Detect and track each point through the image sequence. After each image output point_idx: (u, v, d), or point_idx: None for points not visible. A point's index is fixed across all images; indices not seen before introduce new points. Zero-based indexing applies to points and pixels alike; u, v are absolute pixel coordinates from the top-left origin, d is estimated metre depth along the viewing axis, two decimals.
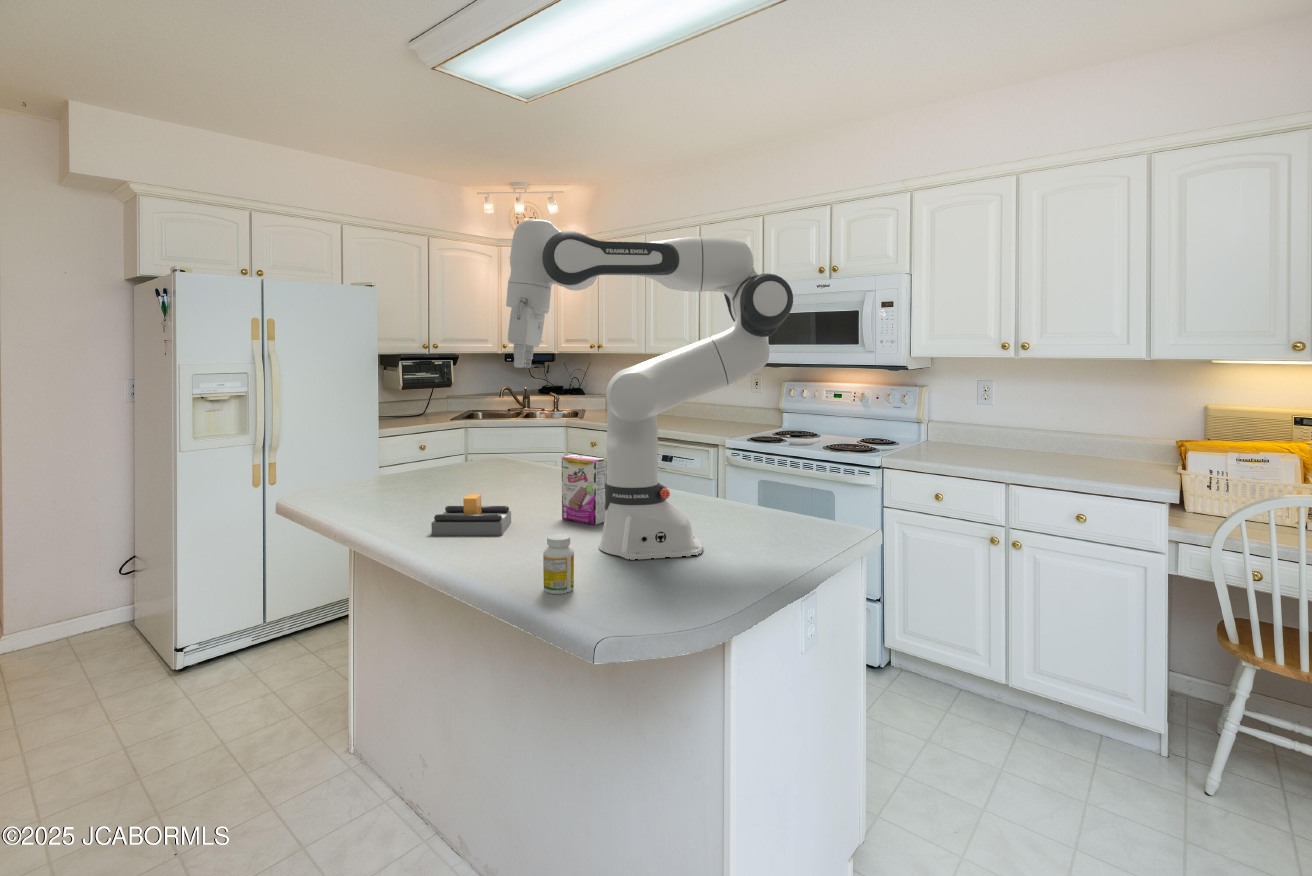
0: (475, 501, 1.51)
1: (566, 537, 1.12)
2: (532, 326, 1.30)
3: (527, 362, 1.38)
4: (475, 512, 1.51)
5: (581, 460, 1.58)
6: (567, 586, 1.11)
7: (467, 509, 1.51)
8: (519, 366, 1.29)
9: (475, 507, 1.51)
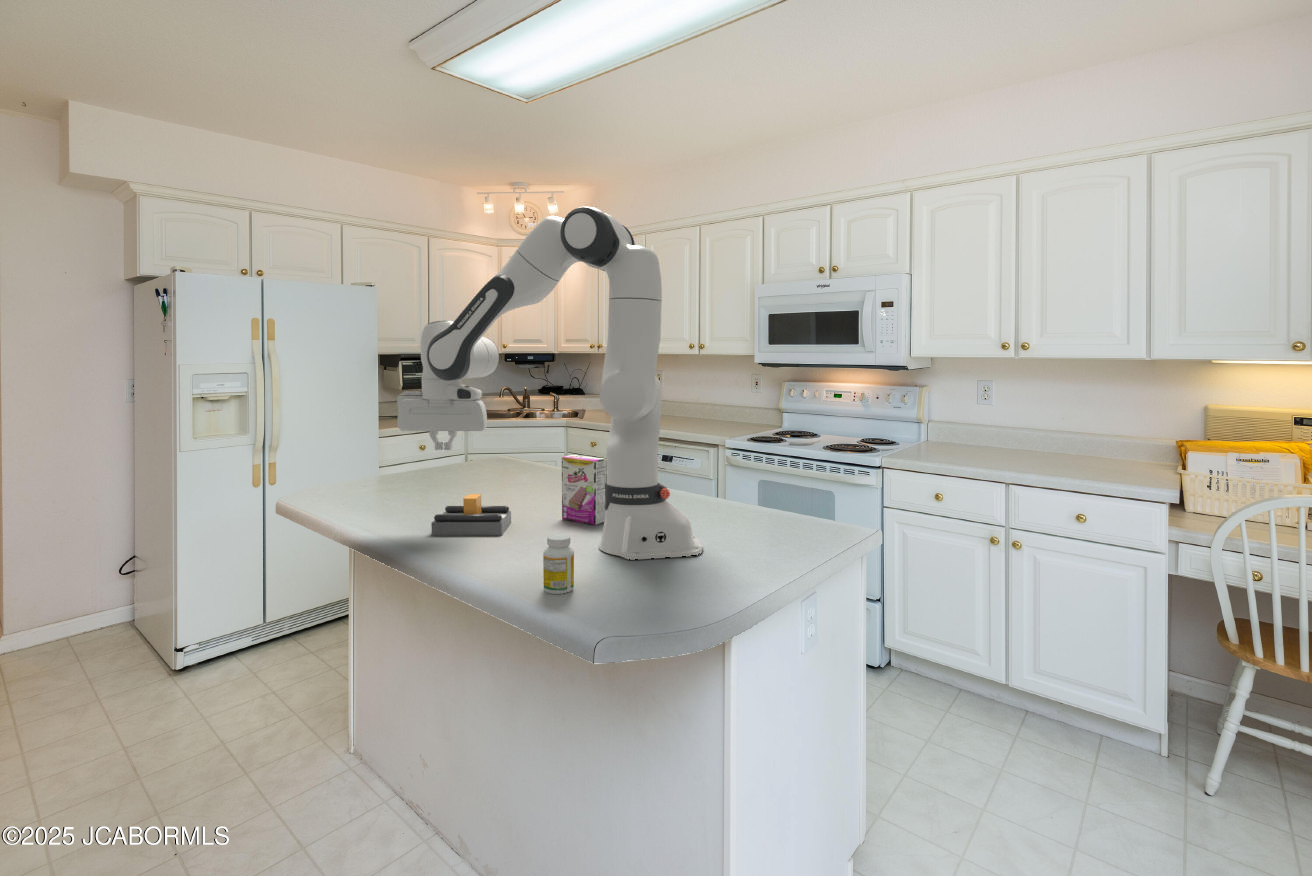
0: (475, 501, 1.51)
1: (566, 537, 1.12)
2: (427, 414, 1.48)
3: None
4: (475, 512, 1.51)
5: (581, 460, 1.58)
6: (567, 586, 1.11)
7: (467, 509, 1.51)
8: None
9: (475, 507, 1.51)
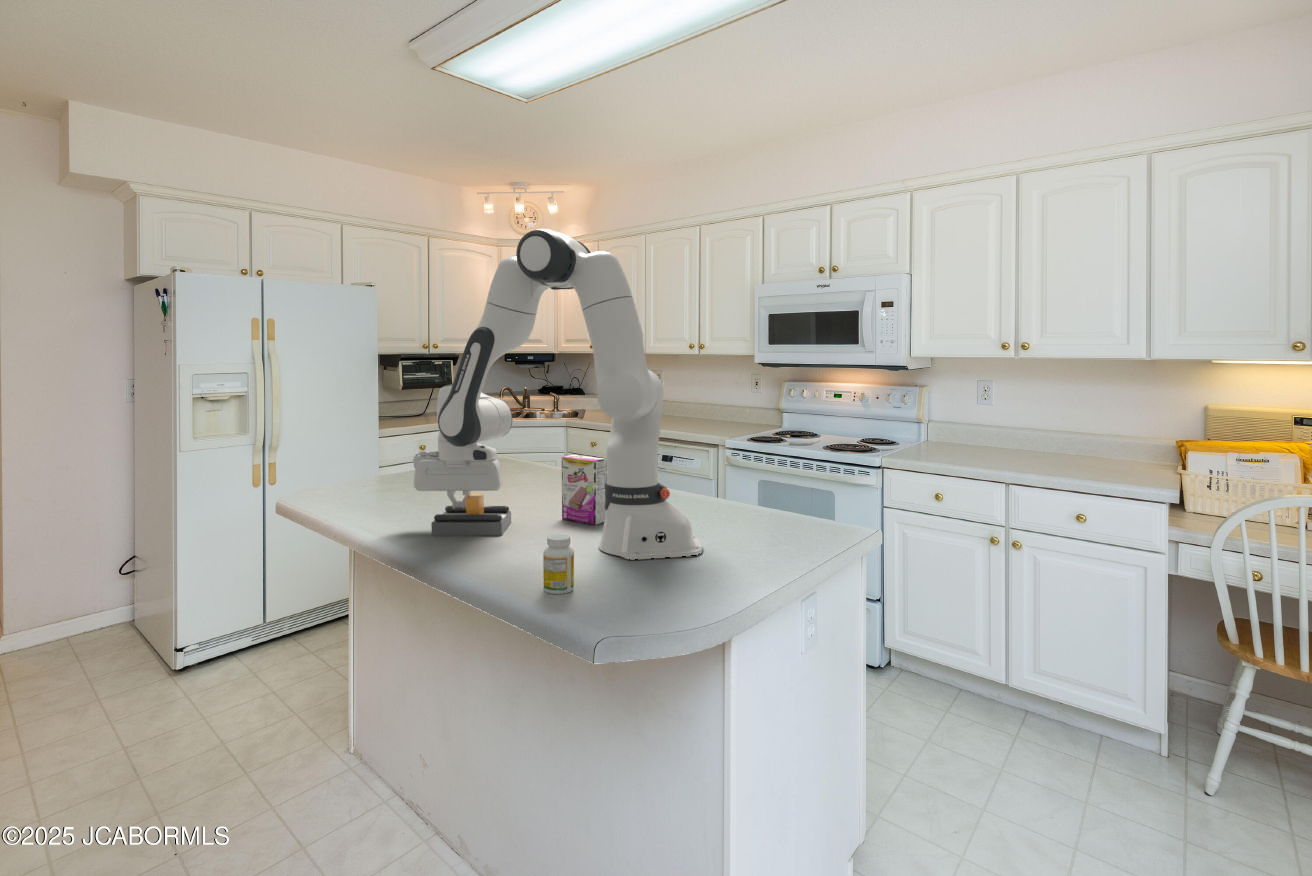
0: (478, 501, 1.51)
1: (566, 537, 1.12)
2: (443, 474, 1.50)
3: None
4: (478, 512, 1.51)
5: (581, 460, 1.58)
6: (567, 586, 1.11)
7: (469, 509, 1.51)
8: None
9: (478, 507, 1.51)
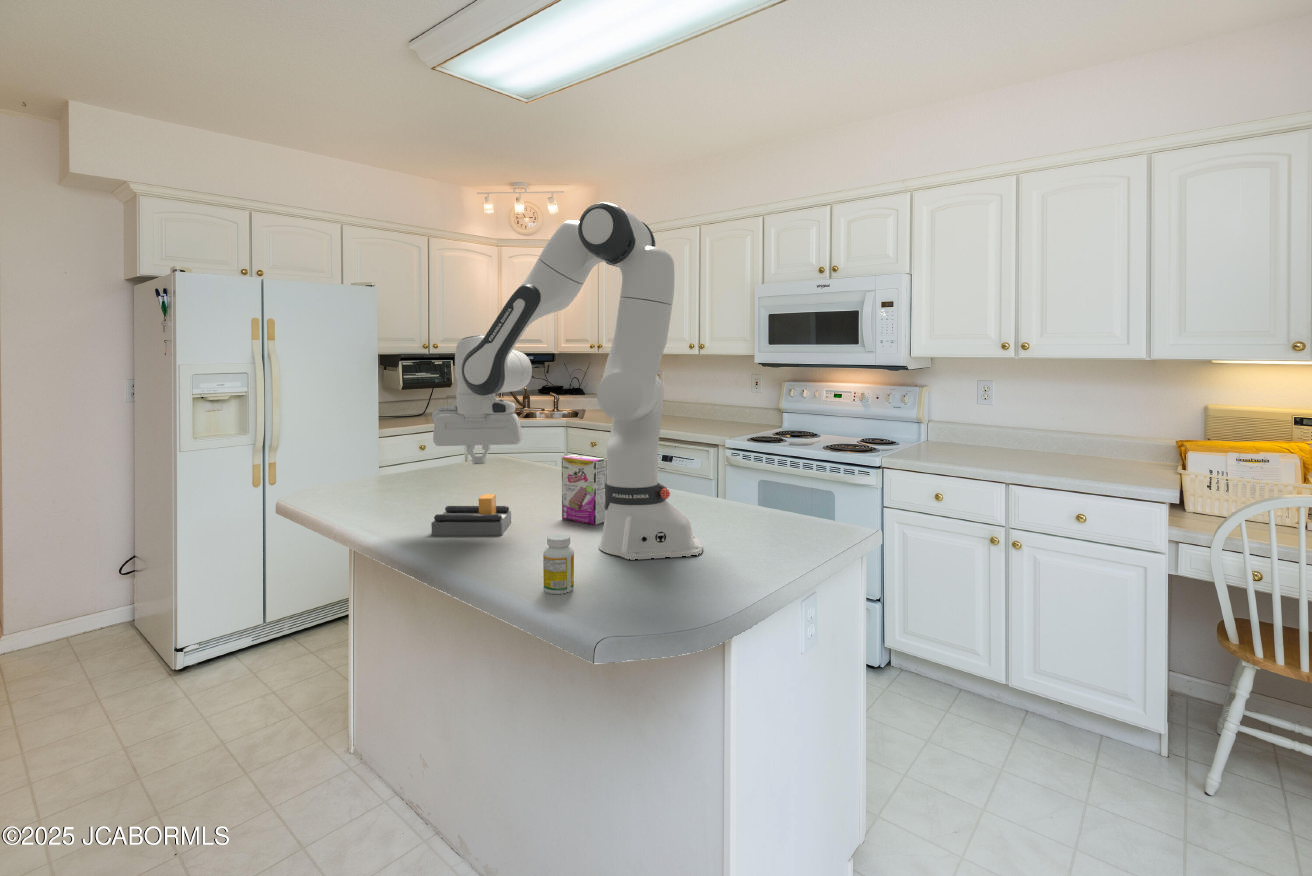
0: (490, 501, 1.51)
1: (566, 537, 1.12)
2: (462, 429, 1.49)
3: None
4: (490, 512, 1.51)
5: (581, 460, 1.58)
6: (567, 586, 1.11)
7: (482, 509, 1.51)
8: None
9: (490, 507, 1.51)
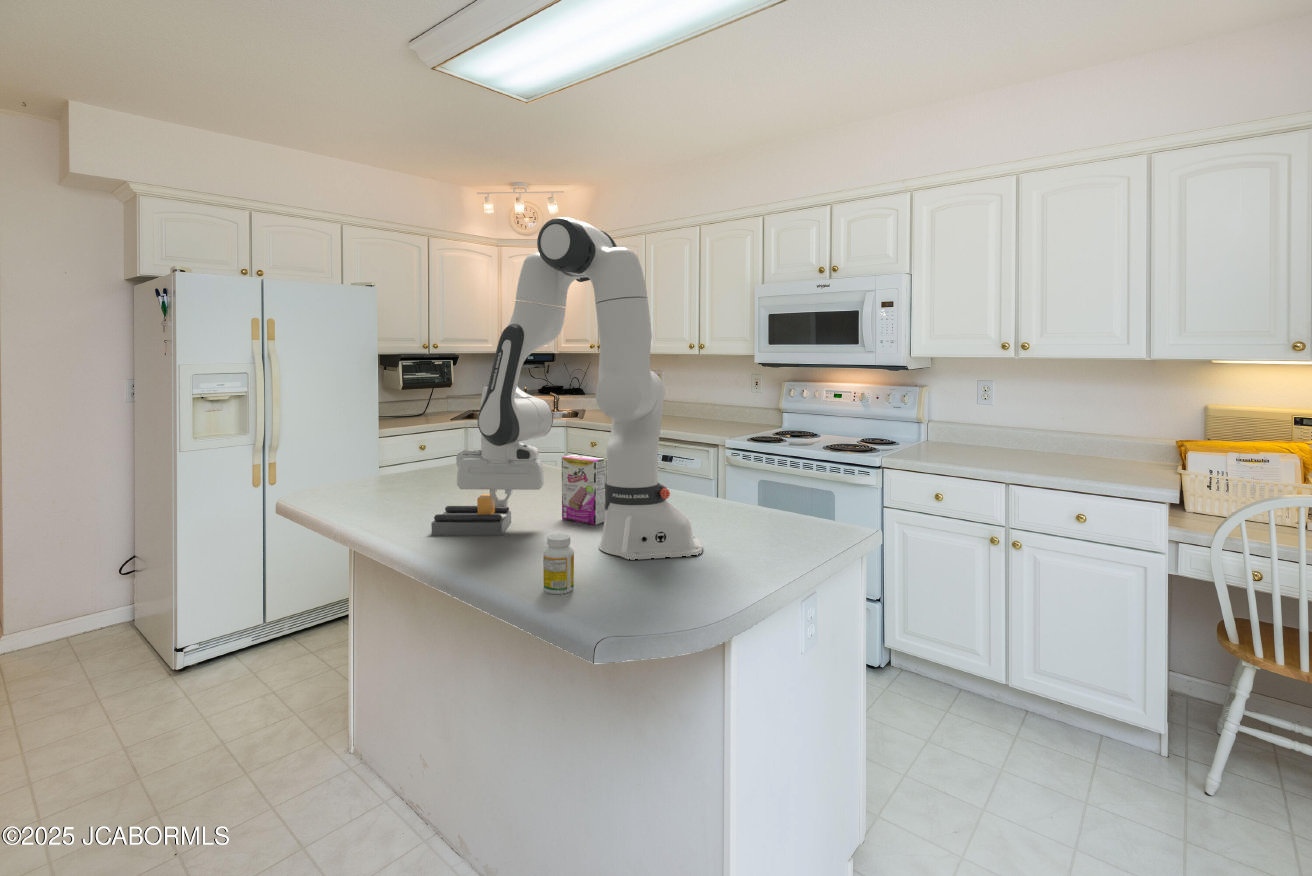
0: (489, 501, 1.51)
1: (566, 537, 1.12)
2: (486, 473, 1.51)
3: None
4: (489, 512, 1.51)
5: (581, 460, 1.58)
6: (567, 586, 1.11)
7: (481, 509, 1.51)
8: (495, 506, 1.53)
9: (489, 507, 1.51)
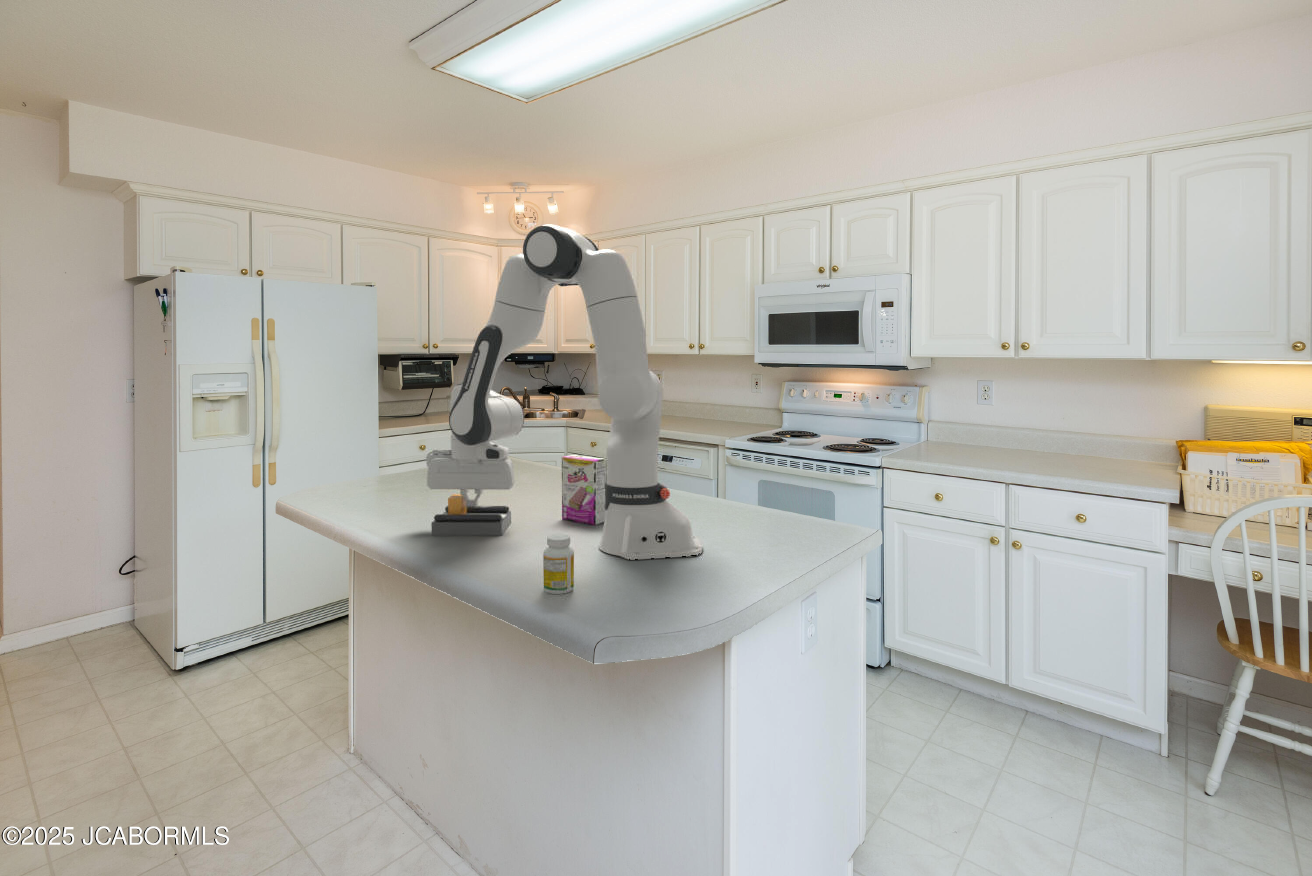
0: (460, 501, 1.50)
1: (566, 537, 1.12)
2: (456, 473, 1.50)
3: None
4: (460, 512, 1.51)
5: (581, 460, 1.58)
6: (567, 586, 1.11)
7: (451, 509, 1.51)
8: None
9: (460, 507, 1.51)
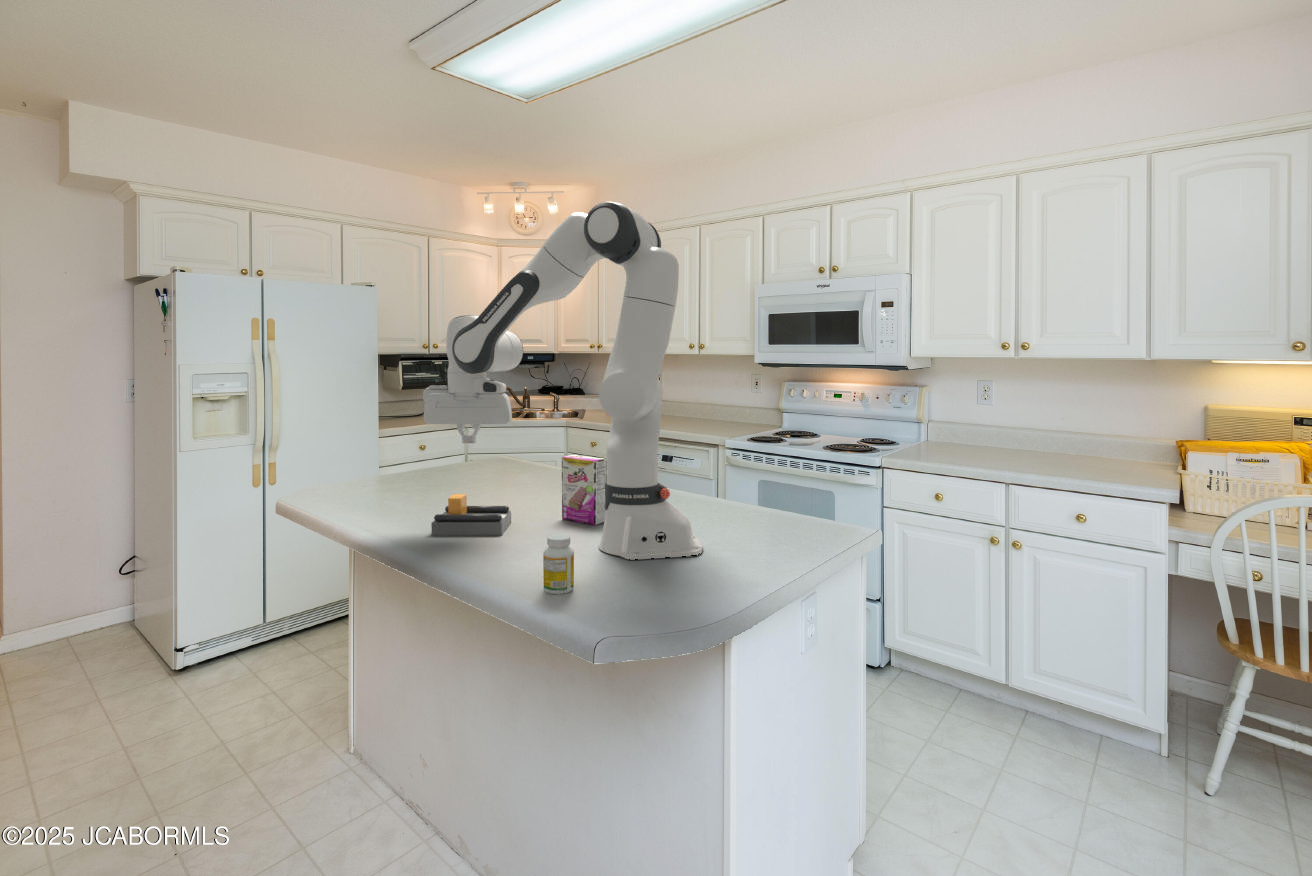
0: (460, 501, 1.50)
1: (566, 537, 1.12)
2: (453, 407, 1.50)
3: None
4: (460, 512, 1.51)
5: (581, 460, 1.58)
6: (567, 586, 1.11)
7: (452, 509, 1.51)
8: None
9: (460, 507, 1.51)
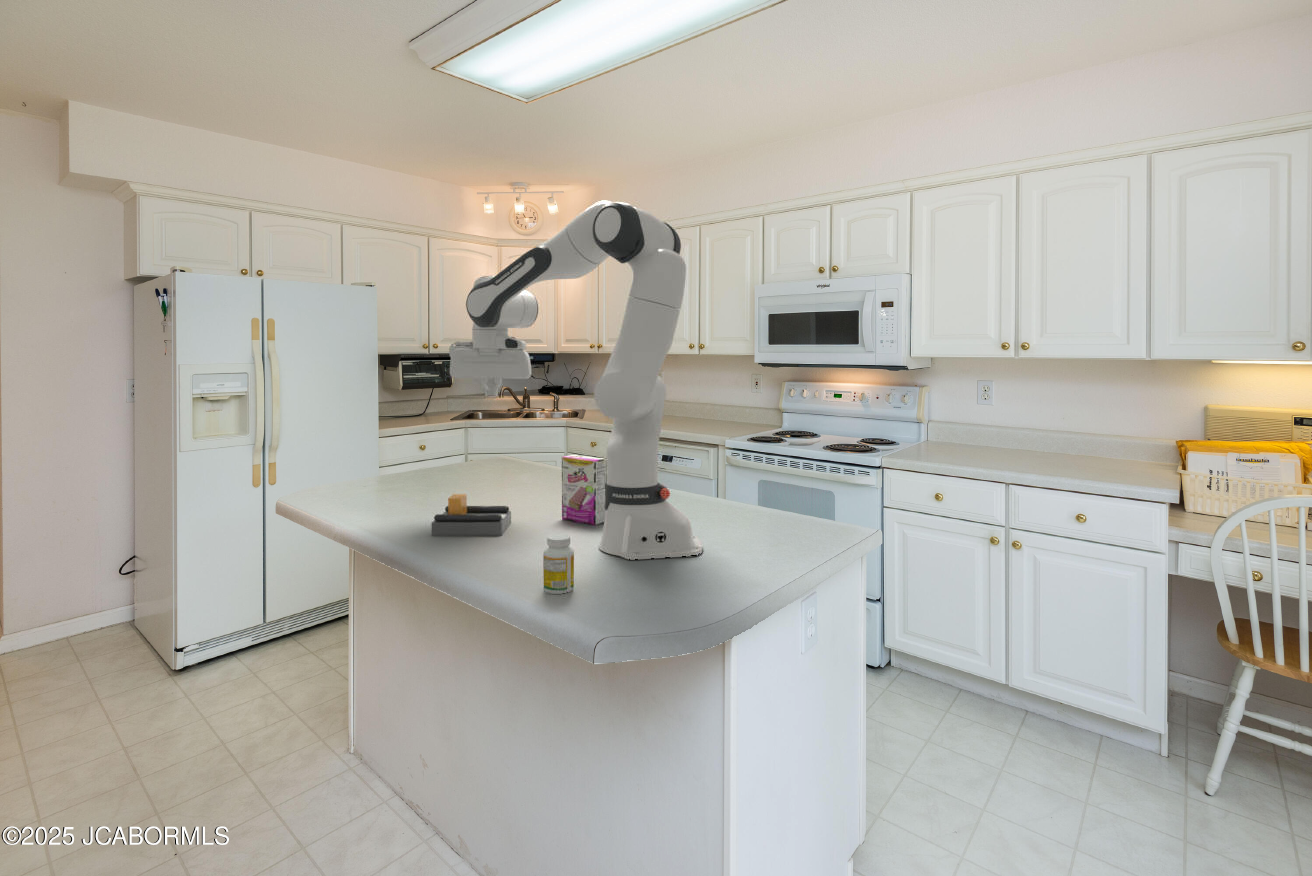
0: (460, 501, 1.50)
1: (566, 537, 1.12)
2: (477, 362, 1.61)
3: None
4: (460, 512, 1.51)
5: (581, 460, 1.58)
6: (567, 586, 1.11)
7: (452, 509, 1.51)
8: (485, 395, 1.64)
9: (460, 507, 1.51)
